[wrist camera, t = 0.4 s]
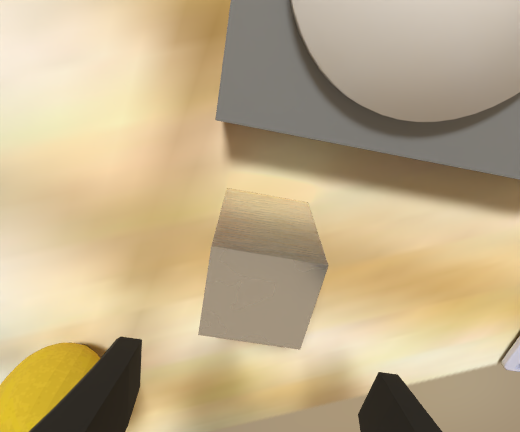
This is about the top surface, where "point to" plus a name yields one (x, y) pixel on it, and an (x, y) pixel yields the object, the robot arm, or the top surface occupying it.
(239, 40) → the scale
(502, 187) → the top surface
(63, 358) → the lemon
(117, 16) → the top surface
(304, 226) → the block
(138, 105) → the top surface
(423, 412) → the robot arm
